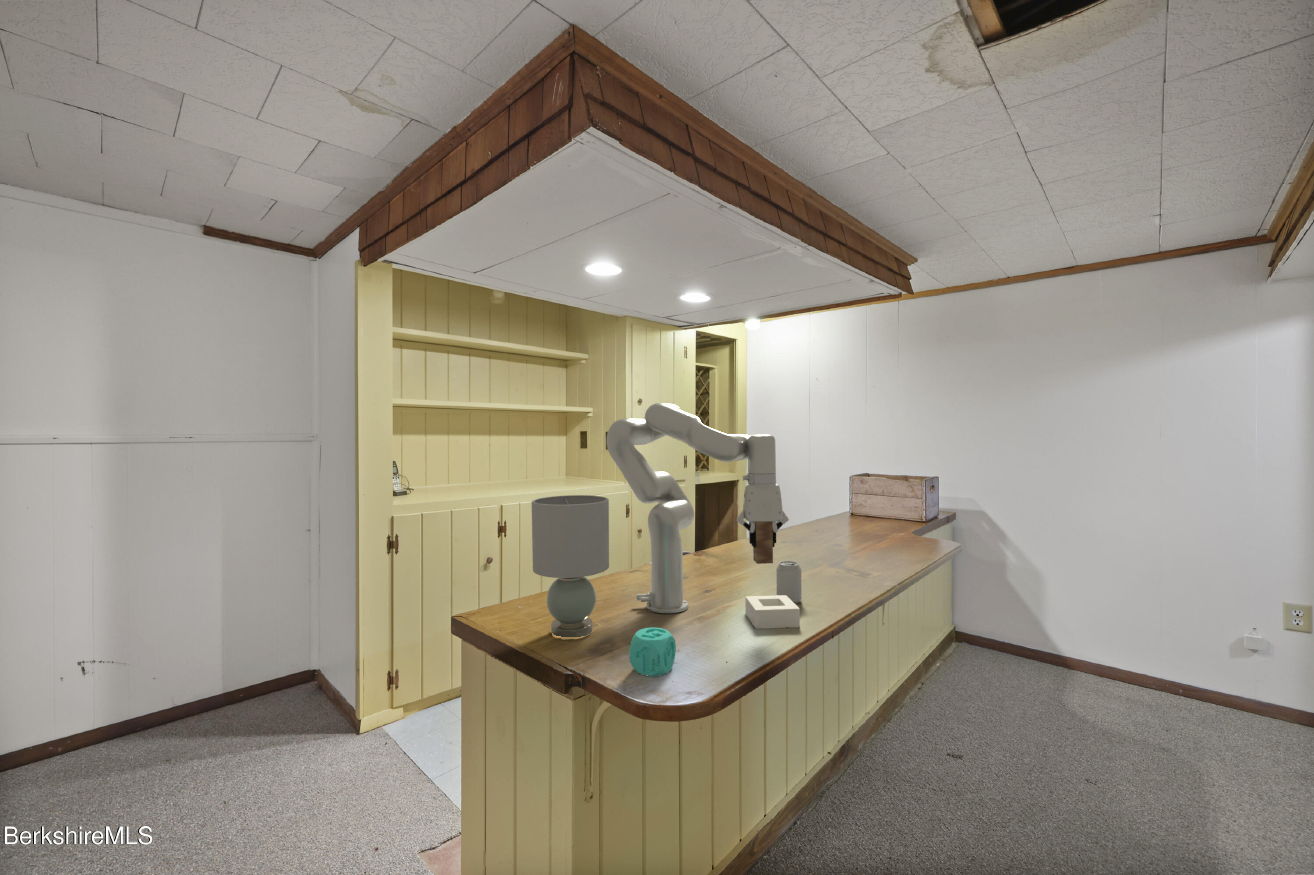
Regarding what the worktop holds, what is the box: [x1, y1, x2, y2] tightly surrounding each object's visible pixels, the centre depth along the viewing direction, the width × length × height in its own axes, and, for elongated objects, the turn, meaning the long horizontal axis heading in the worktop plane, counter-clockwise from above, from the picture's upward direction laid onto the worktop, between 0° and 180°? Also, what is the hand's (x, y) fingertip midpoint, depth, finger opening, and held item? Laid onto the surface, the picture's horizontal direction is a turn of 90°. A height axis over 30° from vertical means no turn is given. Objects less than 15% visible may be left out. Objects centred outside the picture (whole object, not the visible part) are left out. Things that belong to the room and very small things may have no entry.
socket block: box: [744, 594, 801, 629], centre depth 154 cm, size 12×12×5 cm
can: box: [775, 560, 803, 605], centre depth 170 cm, size 8×8×12 cm
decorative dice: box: [628, 627, 677, 677], centre depth 123 cm, size 8×8×8 cm
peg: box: [752, 522, 774, 565], centre depth 151 cm, size 4×4×12 cm
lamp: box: [531, 494, 610, 637], centre depth 146 cm, size 20×20×35 cm
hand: (762, 545), depth 151 cm, fingers closed on peg, 4 cm apart
